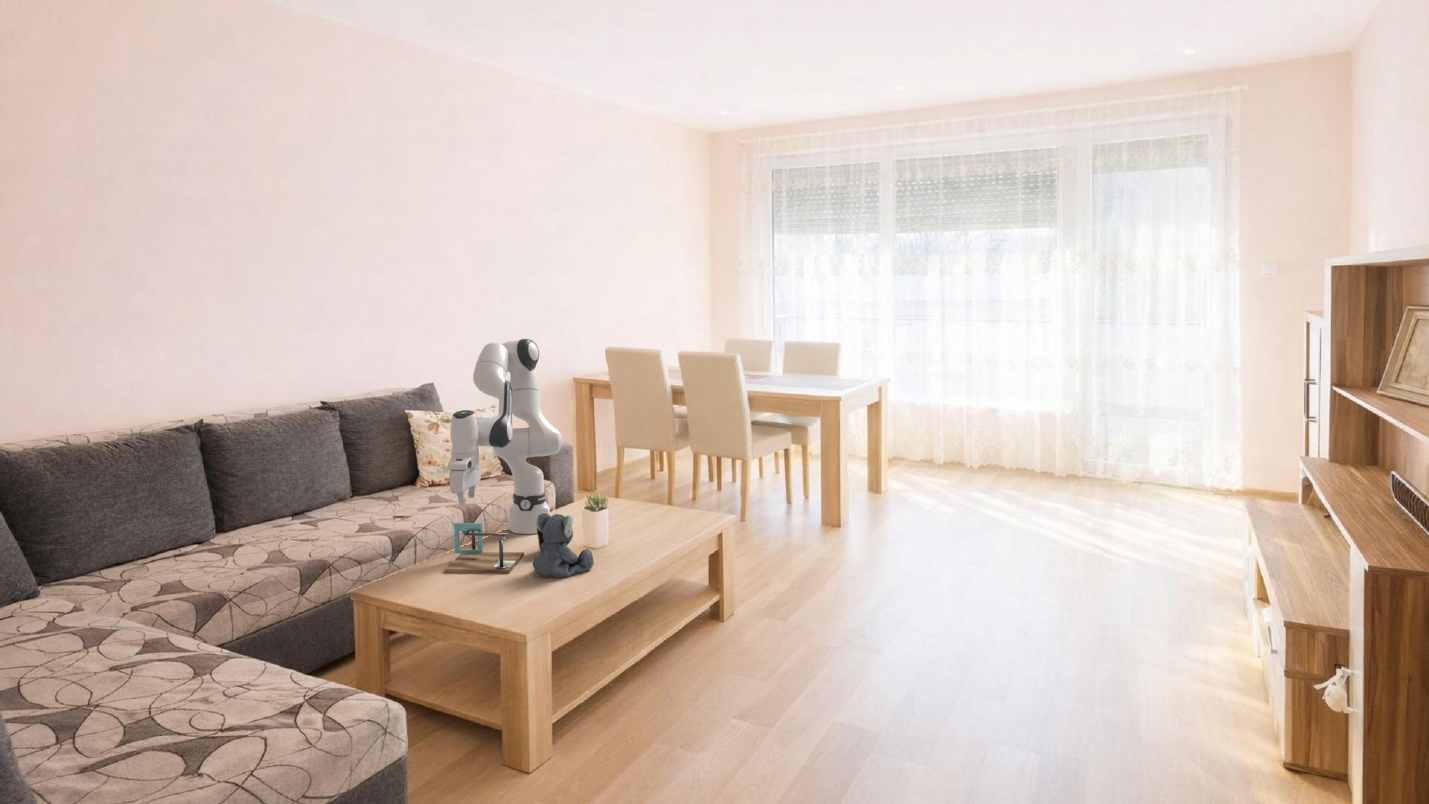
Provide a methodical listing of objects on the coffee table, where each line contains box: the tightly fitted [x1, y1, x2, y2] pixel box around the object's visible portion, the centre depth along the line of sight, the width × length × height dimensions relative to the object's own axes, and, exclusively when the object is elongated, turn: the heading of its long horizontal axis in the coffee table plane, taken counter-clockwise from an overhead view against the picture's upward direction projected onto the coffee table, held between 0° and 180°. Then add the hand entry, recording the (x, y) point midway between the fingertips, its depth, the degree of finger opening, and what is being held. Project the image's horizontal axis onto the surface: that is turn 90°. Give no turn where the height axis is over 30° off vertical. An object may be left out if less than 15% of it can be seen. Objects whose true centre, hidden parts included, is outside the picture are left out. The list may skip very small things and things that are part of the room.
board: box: [444, 551, 525, 575], centre depth 285 cm, size 18×21×1 cm
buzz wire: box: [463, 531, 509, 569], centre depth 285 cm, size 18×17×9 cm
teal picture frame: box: [453, 522, 484, 555], centre depth 287 cm, size 1×9×10 cm, turn 88°
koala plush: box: [532, 512, 595, 579], centre depth 276 cm, size 17×18×20 cm
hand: (466, 500), depth 285 cm, fingers open, 8 cm apart
